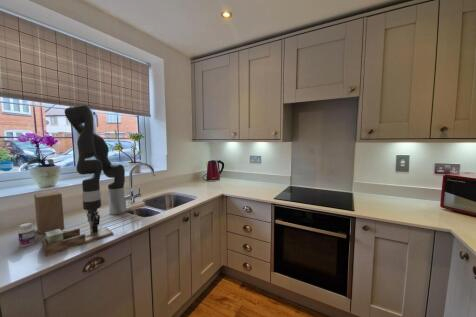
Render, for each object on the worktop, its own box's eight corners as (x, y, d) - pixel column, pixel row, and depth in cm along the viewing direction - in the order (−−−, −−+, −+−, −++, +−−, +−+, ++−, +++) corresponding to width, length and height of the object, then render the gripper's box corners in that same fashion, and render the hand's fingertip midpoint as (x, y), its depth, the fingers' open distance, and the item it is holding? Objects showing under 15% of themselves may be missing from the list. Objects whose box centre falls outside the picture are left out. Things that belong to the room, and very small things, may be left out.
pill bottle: (19, 243, 97) (17, 224, 96) (35, 240, 101) (34, 221, 100) (19, 248, 93) (17, 227, 92) (35, 244, 97) (33, 224, 96)
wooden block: (60, 223, 120) (58, 190, 118) (64, 228, 114) (61, 193, 112) (37, 229, 113) (33, 194, 111) (39, 234, 106) (36, 197, 104)
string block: (95, 230, 108) (94, 217, 107) (100, 234, 104) (99, 221, 103) (46, 244, 93) (45, 230, 93) (48, 250, 89) (47, 234, 88)
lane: (106, 228, 114) (105, 221, 113) (113, 234, 106) (112, 226, 106) (42, 247, 94) (41, 238, 93) (45, 256, 87) (45, 246, 86)
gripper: (105, 199, 101) (107, 233, 103) (96, 194, 110) (98, 225, 112) (87, 203, 95) (89, 238, 97) (79, 197, 105) (81, 230, 106)
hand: (94, 231), depth 104 cm, fingers closed on string block, 3 cm apart
